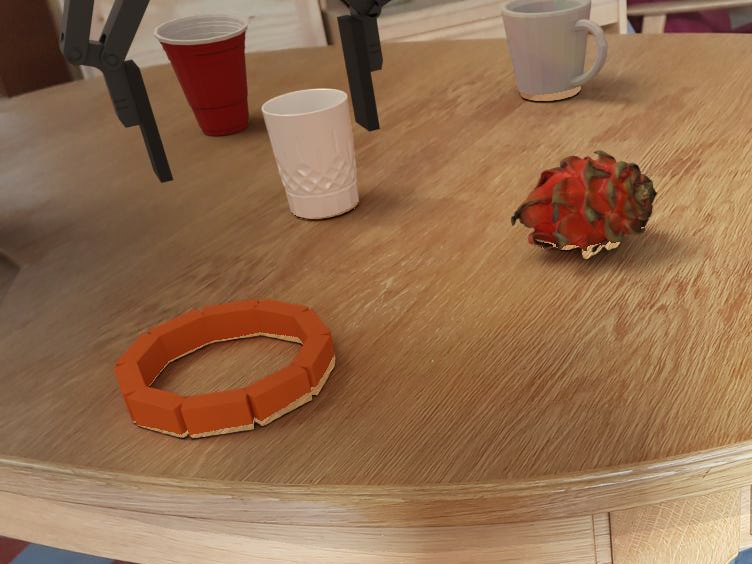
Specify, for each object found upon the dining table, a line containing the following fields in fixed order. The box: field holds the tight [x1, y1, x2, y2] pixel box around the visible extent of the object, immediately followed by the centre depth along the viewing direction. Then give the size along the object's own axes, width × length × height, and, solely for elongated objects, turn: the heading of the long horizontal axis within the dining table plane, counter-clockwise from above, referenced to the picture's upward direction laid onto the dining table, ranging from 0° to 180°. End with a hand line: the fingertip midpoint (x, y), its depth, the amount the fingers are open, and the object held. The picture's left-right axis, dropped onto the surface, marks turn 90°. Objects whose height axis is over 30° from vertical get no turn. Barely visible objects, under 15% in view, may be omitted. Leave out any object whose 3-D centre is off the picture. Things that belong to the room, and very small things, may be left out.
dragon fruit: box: [510, 149, 658, 251], centre depth 77 cm, size 8×8×12 cm
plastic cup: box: [152, 12, 250, 137], centre depth 112 cm, size 11×11×12 cm
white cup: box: [261, 87, 360, 218], centre depth 89 cm, size 8×8×10 cm
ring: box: [113, 298, 335, 436], centre depth 67 cm, size 15×15×2 cm
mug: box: [500, 0, 609, 95], centre depth 110 cm, size 10×15×10 cm
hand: (268, 150), depth 61 cm, fingers open, 13 cm apart
